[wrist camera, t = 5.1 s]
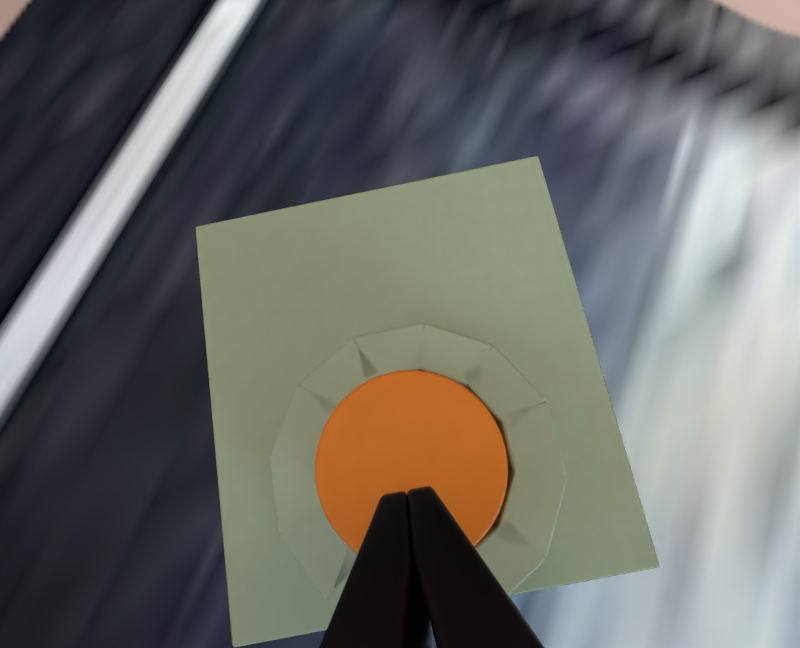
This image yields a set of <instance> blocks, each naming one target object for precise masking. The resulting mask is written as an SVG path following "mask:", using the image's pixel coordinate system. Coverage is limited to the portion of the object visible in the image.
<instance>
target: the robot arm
mask: <svg viewBox="0 0 800 648" xmlns="http://www.w3.org/2000/svg"><path fill="white" fill-rule="evenodd" d="M431 627H432V631H433V635H434V638H435V642H436V646H437V648H544V646H543V645H542V643H541V642H540V640H539V639H538V638H537V636H536V635H535V633H534V632H533V630H532V629H531V628H530V626H529V625H528V623H527V622H526V620H525V619H524V618H523V616H522V615H521V613H520V612H519V610H518V609H517V608H516V606H515V605H514V603H513V602H512V600H511V599H510V597H509V596H508V595H507V593H506V592H505V590H504V589H503V587H502V586H501V585H500V583H499V582H498V580H497V579H496V577H495V576H494V575H493V573H492V572H491V570H490V569H489V567H488V566H487V565H486V563H485V562H484V560H483V559H482V557H481V556H480V554H479V553H478V552H477V550H476V549H475V547H474V546H473V544H472V543H471V542H470V540H469V539H468V537H467V536H466V534H465V533H464V532H463V530H462V529H461V527H460V526H459V524H458V523H457V521H456V520H455V519H454V517H453V516H452V514H451V513H450V511H449V510H448V509H447V507H446V506H445V504H444V503H443V501H442V500H441V499H440V497H439V496H438V494H437V493H436V491H435V490H434V489H433V488H432V487H431V486H425V487H420V488H415V489H410V490H409V491H408V493H406V492H404V491H399V492H394V493H389V494H384V495H383V496H382V497H381V498H380V500H379V503H378V505H377V508H376V510H375V512H374V515H373V517H372V520H371V522H370V525H369V527H368V530H367V532H366V535H365V537H364V539H363V542H362V544H361V547H360V549H359V552H358V554H357V557H356V559H355V562H354V564H353V566H352V569H351V571H350V574H349V576H348V579H347V581H346V584H345V586H344V589H343V591H342V593H341V596H340V598H339V601H338V603H337V606H336V608H335V611H334V613H333V616H332V618H331V620H330V623H329V625H328V628H327V630H326V633H325V635H324V638H323V640H322V643H321V645H320V647H319V648H433V646H432V631H431Z"/></svg>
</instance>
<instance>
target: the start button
mask: <svg viewBox="0 0 800 648" xmlns="http://www.w3.org/2000/svg"><path fill="white" fill-rule="evenodd" d="M507 479H508V462H507V454H506V448H505V444H504V441H503V438H502V435H501V432H500V430H499V428H498V426H497V423H496V422H495V420H494V418H493V417H492V415H491V413H490V412H489V410H488V409H487V408H486V407H485V405H484V404H483V403H482V402H481V401H480V400H479V399H478V398H477V397H476V396H475V395H474V394H473V393H472V392H471V391H469V390H468V389H467V388H465V387H464V386H463V385H461V384H459V383H457V382H455V381H454V380H452V379H449V378H447V377H444V376H442V375H439V374H435V373H431V372H426V371H419V370H403V371H396V372H390V373H387V374H383V375H380V376H377V377H375V378H373V379H370V380H368V381H367V382H365V383H363V384H361V385H360V386H358V387H357V388H356V389H354V390H353V391H352V392H350V393H349V394H348V395H347V396H346V397H345V398H344V399H343V400H342V401H341V402H340V403H339V404H338V406H337V407H336V408H335V409H334V411H333V412H332V414H331V415H330V417H329V419H328V420H327V422H326V424H325V427H324V429H323V431H322V433H321V436H320V440H319V443H318V447H317V452H316V458H315V480H316V487H317V492H318V497H319V500H320V503H321V506H322V509H323V511H324V513H325V515H326V517H327V519H328V521H329V523H330V524H331V526H332V527H333V529H334V530H335V532H336V533H337V534H338V535H339V536H340V538H341V539H342V540H343V541H344V542H345V543H346V544H347V545H348V546H349V547H351V548H352V549H353V550H354V551H355V552H357V553H358V552H359V549H360V547H361V544H362V542H363V539H364V537H365V535H366V532H367V530H368V527H369V525H370V522H371V520H372V517H373V515H374V512H375V510H376V508H377V505H378V503H379V500H380V498H381V497H382V496H383V495H384V494H389V493H394V492H399V491H404V492H406V493H408V491H409V490H410V489H415V488H420V487H425V486H431V487H432V488H433V489H434V490H435V491H436V493H437V494H438V496H439V497H440V499H441V500H442V501H443V503H444V504H445V506H446V507H447V509H448V510H449V511H450V513H451V514H452V516H453V517H454V519H455V520H456V521H457V523H458V524H459V526H460V527H461V529H462V530H463V532H464V533H465V534H466V536H467V537H468V539H469V540H470V542H471V543H472V544H473V546H475V545H477V543H478V542H479V541H480V540H481V539H482V538H483V537H484V536H485V535H486V533H487V532H488V531H489V529H490V528H491V526H492V525H493V523H494V521H495V519H496V518H497V516H498V514H499V512H500V509H501V506H502V503H503V501H504V497H505V492H506V488H507Z"/></svg>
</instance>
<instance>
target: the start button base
mask: <svg viewBox="0 0 800 648" xmlns="http://www.w3.org/2000/svg"><path fill="white" fill-rule="evenodd" d="M196 238H197V249H198V260H199V272H200V283H201V294H202V306H203V317H204V328H205V339H206V351H207V362H208V373H209V385H210V396H211V407H212V419H213V430H214V441H215V453H216V464H217V475H218V487H219V498H220V509H221V521H222V532H223V543H224V555H225V566H226V577H227V589H228V600H229V611H230V623H231V634H232V645H233V647H239V646H244V645H250V644H255V643H260V642H265V641H271V640H276V639H281V638H287V637H292V636H297V635H303V634H308V633H313V632H318V631H324V630H327V628H328V625H329V623H330V620H331V618H332V616H333V613H334V611H335V608H336V606H337V603H338V601H339V598H340V596H341V593H342V591H343V589H344V586H345V584H346V581H347V579H348V576H349V574H350V571H351V569H352V566H353V564H354V562H355V559H356V557H357V554H358V553H357V552H355V551H354V550H353V549H352V548H351V547H349V546H348V545H347V544H346V543H345V542H344V541H343V540H342V539H341V538H340V536H339V535H338V534H337V533H336V532H335V530H334V529H333V527H332V526H331V524H330V523H329V521H328V519H327V517H326V515H325V513H324V511H323V509H322V506H321V503H320V500H319V497H318V492H317V487H316V480H315V458H316V452H317V447H318V443H319V440H320V436H321V433H322V431H323V429H324V427H325V424H326V422H327V420H328V419H329V417H330V415H331V414H332V412H333V411H334V409H335V408H336V407H337V406H338V404H339V403H340V402H341V401H342V400H343V399H344V398H345V397H346V396H347V395H348V394H349V393H350V392H352V391H353V390H354V389H356V388H357V387H358V386H360V385H361V384H363V383H365V382H367V381H368V380H370V379H373V378H375V377H377V376H380V375H383V374H387V373H390V372H396V371H403V370H419V371H426V372H431V373H435V374H439V375H442V376H444V377H447V378H449V379H452V380H454V381H455V382H457V383H459V384H461V385H463V386H464V387H465V388H467V389H468V390H469V391H471V392H472V393H473V394H474V395H475V396H476V397H477V398H478V399H479V400H480V401H481V402H482V403H483V404H484V405H485V407H486V408H487V409H488V410H489V412H490V413H491V415H492V417H493V418H494V420H495V422H496V423H497V426H498V428H499V430H500V432H501V435H502V438H503V441H504V444H505V448H506V454H507V462H508V479H507V488H506V492H505V497H504V501H503V503H502V506H501V509H500V512H499V514H498V516H497V518H496V519H495V521H494V523H493V525H492V526H491V528H490V529H489V531H488V532H487V533H486V535H485V536H484V537H483V538H482V539H481V540H480V541H479V542H478V543H477V545H475V546H474V547H475V549H476V550H477V552H478V553H479V554H480V556H481V557H482V559H483V560H484V562H485V563H486V565H487V566H488V567H489V569H490V570H491V572H492V573H493V575H494V576H495V577H496V579H497V580H498V582H499V583H500V585H501V586H502V587H503V589H504V590H505V592H506V593H507V595H508V596H509V595H514V594H520V593H525V592H530V591H536V590H541V589H546V588H552V587H557V586H562V585H567V584H573V583H578V582H583V581H589V580H594V579H599V578H605V577H610V576H615V575H620V574H626V573H631V572H636V571H642V570H647V569H652V568H657V567H659V562H658V559H657V555H656V552H655V549H654V545H653V542H652V538H651V535H650V532H649V528H648V525H647V522H646V518H645V515H644V511H643V508H642V505H641V501H640V498H639V495H638V491H637V488H636V484H635V481H634V478H633V474H632V471H631V468H630V464H629V461H628V458H627V454H626V451H625V447H624V444H623V441H622V437H621V434H620V431H619V427H618V424H617V420H616V417H615V414H614V410H613V407H612V404H611V400H610V397H609V393H608V390H607V387H606V383H605V380H604V377H603V373H602V370H601V367H600V363H599V360H598V356H597V353H596V350H595V346H594V343H593V340H592V336H591V333H590V329H589V326H588V323H587V319H586V316H585V313H584V309H583V306H582V302H581V299H580V296H579V292H578V289H577V286H576V282H575V279H574V276H573V272H572V269H571V265H570V262H569V259H568V255H567V252H566V249H565V245H564V242H563V238H562V235H561V232H560V228H559V225H558V222H557V218H556V215H555V212H554V208H553V205H552V201H551V198H550V195H549V191H548V188H547V185H546V181H545V178H544V174H543V171H542V168H541V164H540V161H539V158H538V156H535V157H530V158H525V159H520V160H516V161H511V162H506V163H501V164H496V165H492V166H487V167H482V168H477V169H472V170H467V171H463V172H458V173H453V174H448V175H443V176H439V177H434V178H429V179H424V180H419V181H414V182H410V183H405V184H400V185H395V186H390V187H386V188H381V189H376V190H371V191H366V192H361V193H357V194H352V195H347V196H342V197H337V198H333V199H328V200H323V201H318V202H313V203H308V204H304V205H299V206H294V207H289V208H284V209H280V210H275V211H270V212H265V213H260V214H255V215H251V216H246V217H241V218H236V219H231V220H226V221H222V222H217V223H212V224H207V225H202V226H198V227H196Z"/></svg>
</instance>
